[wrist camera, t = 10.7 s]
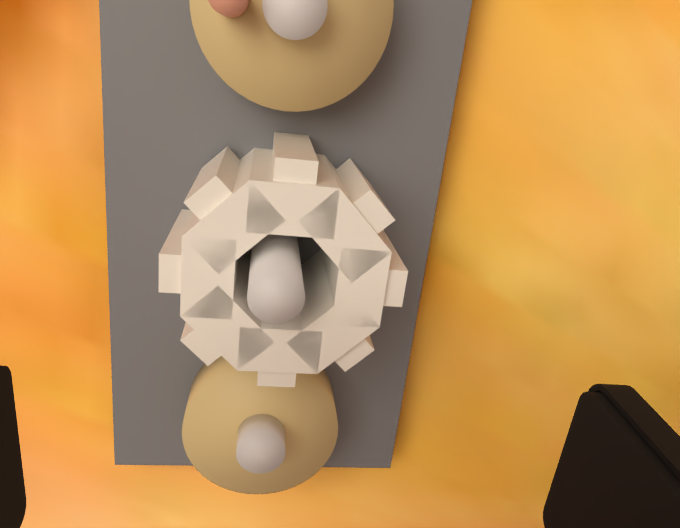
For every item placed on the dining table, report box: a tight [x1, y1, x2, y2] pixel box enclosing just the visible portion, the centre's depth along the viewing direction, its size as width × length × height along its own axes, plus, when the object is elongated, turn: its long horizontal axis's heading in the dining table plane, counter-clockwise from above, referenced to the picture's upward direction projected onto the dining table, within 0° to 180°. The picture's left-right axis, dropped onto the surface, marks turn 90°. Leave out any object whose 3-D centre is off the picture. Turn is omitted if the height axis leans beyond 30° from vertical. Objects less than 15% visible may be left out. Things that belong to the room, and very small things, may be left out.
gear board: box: [99, 0, 472, 494], centre depth 19 cm, size 12×22×8 cm, turn 174°
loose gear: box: [158, 132, 408, 387], centre depth 19 cm, size 7×7×5 cm
